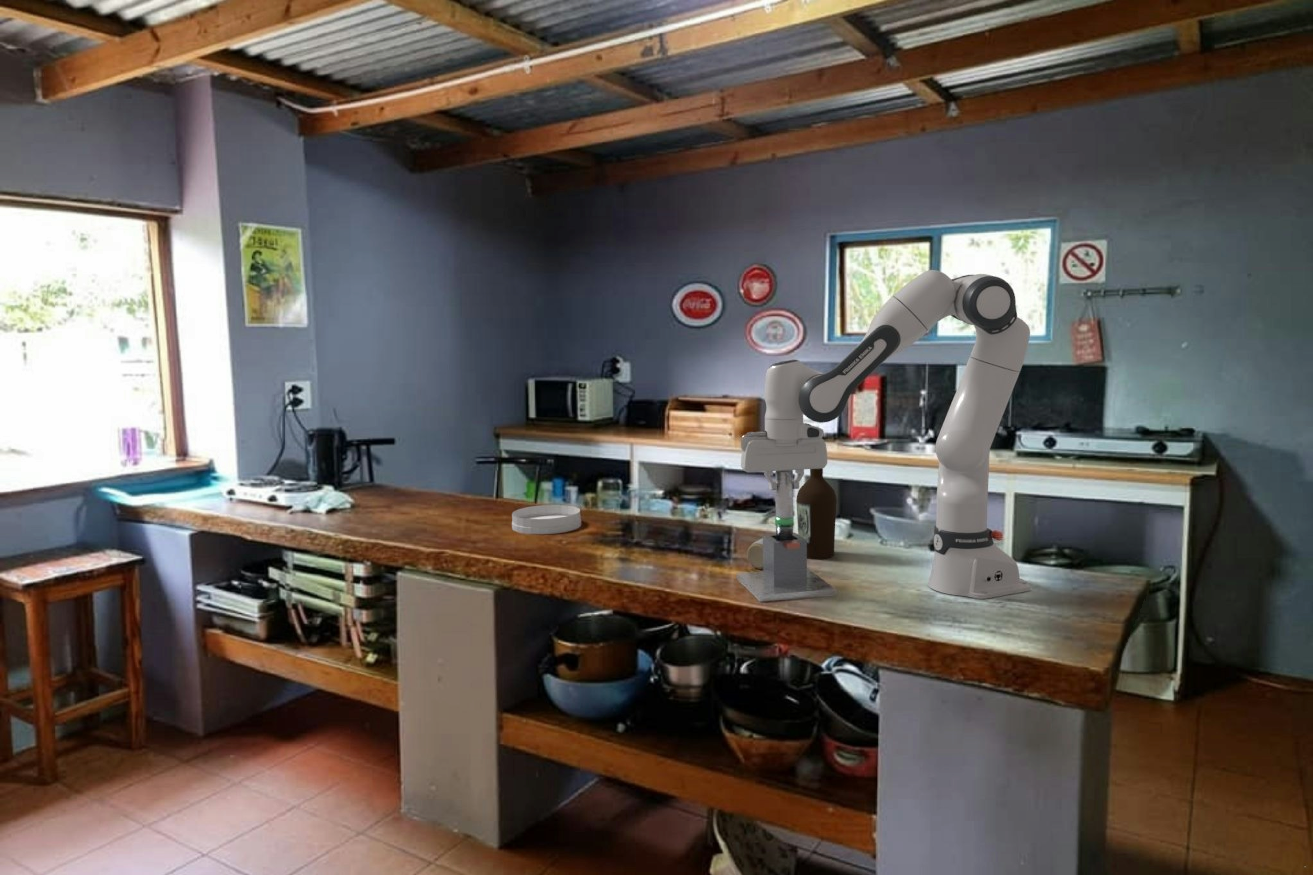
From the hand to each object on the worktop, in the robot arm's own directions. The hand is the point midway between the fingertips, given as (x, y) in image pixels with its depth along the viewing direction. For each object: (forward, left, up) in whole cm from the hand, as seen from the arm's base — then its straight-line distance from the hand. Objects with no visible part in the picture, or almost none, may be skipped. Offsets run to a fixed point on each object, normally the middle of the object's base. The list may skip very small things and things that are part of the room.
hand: (784, 489), depth 193 cm
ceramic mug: (-2, -17, -24) cm, 29 cm away
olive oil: (-18, -25, -24) cm, 39 cm away
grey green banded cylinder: (0, 0, -14) cm, 14 cm away
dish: (+51, -81, -24) cm, 99 cm away
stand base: (0, 0, -24) cm, 24 cm away
